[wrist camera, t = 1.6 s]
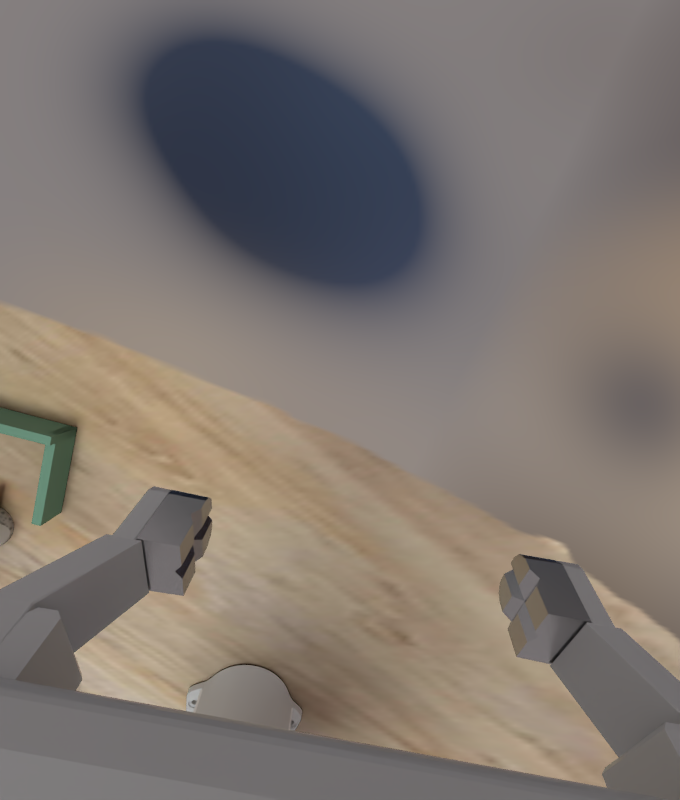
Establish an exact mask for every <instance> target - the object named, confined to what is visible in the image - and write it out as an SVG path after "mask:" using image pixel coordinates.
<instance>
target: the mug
mask: <svg viewBox="0 0 680 800" xmlns="http://www.w3.org/2000/svg"><path fill="white" fill-rule="evenodd" d="M13 530H14V524H13V520H12V518H11V516H10V515H9V514H8V512H7V511H5V510H4V509H3V508H1V507H0V546H1V545H2V544H4V543H5V542H7V541H8V540H9V539H10V538H11V536H12V534H13Z"/></svg>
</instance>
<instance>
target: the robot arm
mask: <svg viewBox="0 0 680 800" xmlns="http://www.w3.org/2000/svg"><path fill="white" fill-rule="evenodd" d="M211 509H212V500H211V498H208V497H204V496H199V495H194V494H189V493H185V492H180V491H175V490H169V489H164V488H159V487H152V488H151V489H149V490H148V491H147V492H146V493H145V494H144V496H143V497H142V498H141V500H140V501H139V502H138V503H137V505H136V506H135V507H134V508H133V510H132V511H131V512H130V514H129V515H128V516H127V517H126V519H125V520H124V521H123V523H122V524H121V525H120V526H119V528H118V529H117V530H116V531H115V533H114V534H113V535H108V534H106V535H104V536H102V537H100V538H98V539H96V540H95V541H93V542H91V543H89V544H87V545H85V546H83V547H81V548H79V549H77V550H75V551H73V552H71V553H69V554H67V555H66V556H64V557H62V558H60V559H58V560H56V561H54V562H52V563H50V564H48V565H46V566H44V567H42V568H40V569H39V570H37V571H35V572H33V573H31V574H29V575H27V576H25V577H23V578H21V579H19V580H17V581H15V582H13V583H11V584H10V585H8V586H6V587H4V588H2V589H0V800H680V681H679V680H678V679H676V678H675V677H674V676H673V675H672V674H671V673H670V672H669V671H668V670H666V669H665V668H664V667H663V666H662V665H661V664H660V663H659V662H658V661H657V660H655V659H654V658H653V657H652V656H651V655H650V654H649V653H648V652H647V651H645V650H644V649H643V648H642V647H641V646H640V645H639V644H638V643H637V642H635V641H634V640H633V639H632V638H631V637H630V636H629V635H628V634H627V633H626V632H624V631H623V630H622V629H620V628H616V627H615V626H614V625H613V623H612V621H611V619H610V617H609V616H608V614H607V612H606V610H605V608H604V607H603V605H602V603H601V601H600V599H599V598H598V596H597V594H596V592H595V590H594V589H593V587H592V585H591V583H590V581H589V580H588V578H587V576H586V574H585V572H584V571H583V569H582V568H581V567H580V566H579V565H578V564H572V563H567V562H561V561H555V560H550V559H545V558H539V557H533V556H527V555H521V554H519V555H517V556H515V557H514V559H513V560H512V562H511V565H512V568H513V570H511V571H509V572H507V573H505V574H504V576H503V577H502V579H501V581H500V586H499V600H500V604H501V608H502V611H503V613H504V614H505V615H506V616H507V617H508V618H509V619H510V621H511V623H510V625H509V627H508V631H509V635H510V638H511V641H512V644H513V648H514V651H515V654H516V657H520V658H524V659H529V660H534V661H538V662H543V663H548V664H551V665H550V666H551V668H552V669H553V670H554V672H555V673H556V674H557V676H558V677H559V678H560V680H561V681H562V682H563V684H564V685H565V686H566V688H567V689H568V690H569V692H570V693H571V694H572V696H573V697H574V698H575V700H576V701H577V702H578V704H579V705H580V706H581V708H582V709H583V710H584V712H585V713H586V714H587V716H588V717H589V718H590V720H591V721H592V722H593V724H594V725H595V726H596V728H597V729H598V730H599V732H600V733H601V734H602V736H603V737H604V738H605V740H606V741H607V742H608V744H609V745H610V746H611V748H612V749H613V750H614V752H615V753H616V754H617V756H618V757H619V758H617V759H616V760H615V761H613V762H612V763H611V764H609V765H608V766H607V767H605V769H604V771H603V773H602V775H603V778H604V780H605V783H606V786H607V788H605V787H600V786H594V785H589V784H583V783H578V782H572V781H567V780H561V779H556V778H551V777H545V776H540V775H534V774H529V773H523V772H518V771H512V770H507V769H501V768H496V767H490V766H485V765H479V764H474V763H468V762H463V761H458V760H452V759H447V758H441V757H436V756H430V755H425V754H419V753H414V752H408V751H403V750H397V749H392V748H386V747H381V746H375V745H370V744H364V743H359V742H353V741H348V740H342V739H337V738H331V737H326V736H320V735H315V734H309V733H304V732H298V731H295V729H296V728H297V726H298V724H299V723H300V721H301V717H302V710H301V708H300V707H299V706H298V705H297V704H296V703H295V702H294V701H293V700H292V699H291V697H290V695H289V692H288V690H287V688H286V686H285V684H284V683H283V682H282V680H281V679H280V678H279V677H278V676H276V675H275V674H274V673H272V672H270V671H269V670H266V669H264V668H261V667H258V666H252V665H238V666H233V667H229V668H226V669H224V670H222V671H220V672H218V673H217V674H215V675H214V676H213V677H212V678H210V679H209V680H207V681H206V682H202V683H199V684H196V685H193V686H191V687H190V688H189V690H188V693H187V703H186V711H183V710H177V709H172V708H166V707H161V706H155V705H150V704H145V703H139V702H134V701H128V700H123V699H117V698H112V697H106V696H101V695H95V694H90V693H84V692H79V691H76V689H77V687H78V686H79V684H80V682H81V681H82V675H81V671H80V668H79V665H78V663H77V660H76V657H75V655H74V652H75V651H77V650H78V649H79V648H80V647H82V646H83V645H84V644H85V643H87V642H88V641H89V640H90V639H92V638H93V637H94V636H95V635H97V634H98V633H99V632H100V631H102V630H103V629H104V628H105V627H107V626H108V625H109V624H110V623H112V622H113V621H114V620H115V619H117V618H118V617H119V616H120V615H122V614H123V613H124V612H125V611H127V610H128V609H129V608H130V607H132V606H133V605H134V604H135V603H137V602H138V601H139V600H140V599H142V598H143V597H144V596H145V595H147V594H148V593H149V591H155V592H162V593H168V594H175V595H182V596H184V594H185V592H186V590H187V588H188V586H189V584H190V582H191V580H192V578H193V575H194V573H195V561H197V560H198V559H200V558H201V557H203V555H204V553H205V550H206V548H207V546H208V543H209V539H210V536H211V531H212V520H211V518H210V517H209V516H208V515H209V513H210V511H211Z"/></svg>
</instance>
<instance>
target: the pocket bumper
mask: <svg viewBox="0 0 680 800" xmlns="http://www.w3.org/2000/svg"><path fill="white" fill-rule="evenodd" d="M76 431H77V427H73V426H69V425H65V424H62V423H58V422H54V421H50V420H46V419H43V418H39V417H35V416H31V415H27V414H23V413H20V412H16V411H12V410H8V409H4V408H0V433H2V434H6V435H10V436H14V437H18V438H22V439H26V440H30V441H34V442H37V443H41V444H45V450H44V456H43V461H42V467H41V473H40V478H39V484H38V490H37V496H36V501H35V507H34V513H33V518H32V524H35V525H39V526H41V525H43V524H44V523H46V522H47V521H49V520H50V519H52V518H53V517H55V516H56V515H58V514H59V513H61V511H62V506H63V501H64V495H65V490H66V485H67V479H68V474H69V469H70V463H71V458H72V453H73V447H74V442H75V437H76Z"/></svg>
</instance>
